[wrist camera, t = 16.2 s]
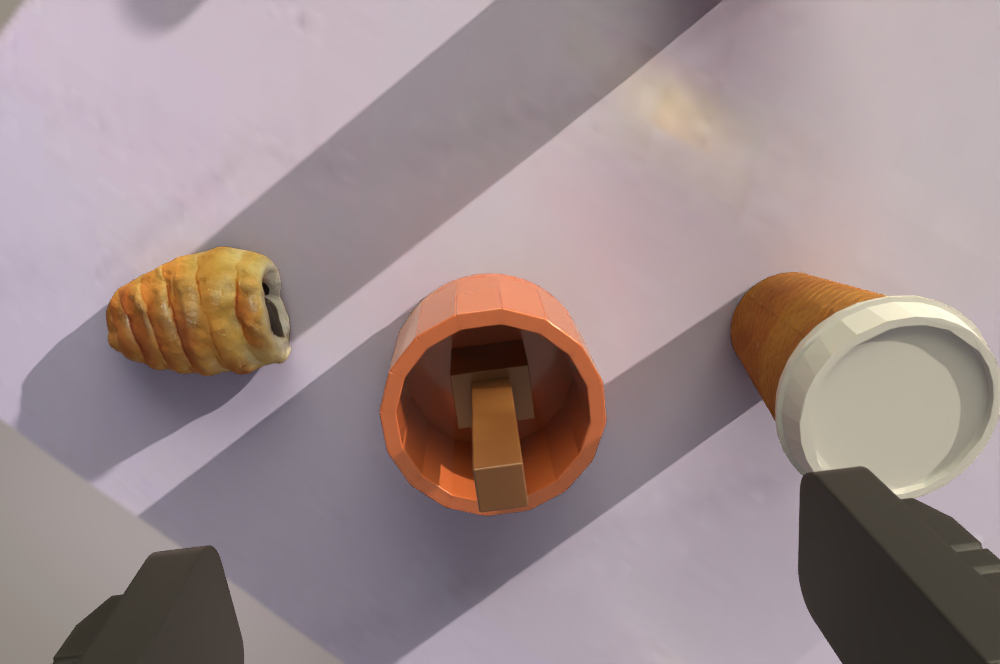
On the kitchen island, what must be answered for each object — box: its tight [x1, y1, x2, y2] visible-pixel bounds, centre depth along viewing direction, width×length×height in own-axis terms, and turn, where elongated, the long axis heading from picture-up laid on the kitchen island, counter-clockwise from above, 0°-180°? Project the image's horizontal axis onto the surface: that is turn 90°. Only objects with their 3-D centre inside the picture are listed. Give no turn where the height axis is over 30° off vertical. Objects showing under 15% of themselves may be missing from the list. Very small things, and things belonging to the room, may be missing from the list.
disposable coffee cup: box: [731, 272, 1000, 499], centre depth 37 cm, size 10×10×12 cm
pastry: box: [106, 247, 291, 376], centre depth 39 cm, size 9×7×4 cm
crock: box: [379, 274, 607, 516], centre depth 39 cm, size 11×11×7 cm
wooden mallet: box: [450, 340, 535, 513], centre depth 35 cm, size 4×3×13 cm
